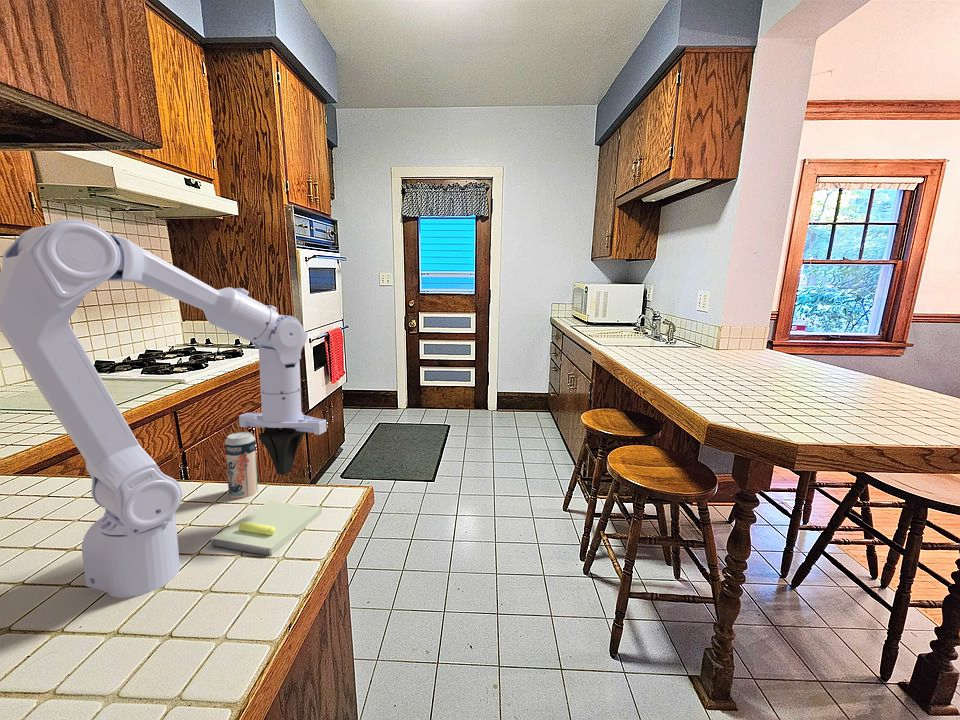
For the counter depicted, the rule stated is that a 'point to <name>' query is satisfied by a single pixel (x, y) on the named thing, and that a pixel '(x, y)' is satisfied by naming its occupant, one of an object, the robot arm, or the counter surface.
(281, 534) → the plate
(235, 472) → the beer can
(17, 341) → the robot arm
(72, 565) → the counter surface
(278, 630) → the counter surface
